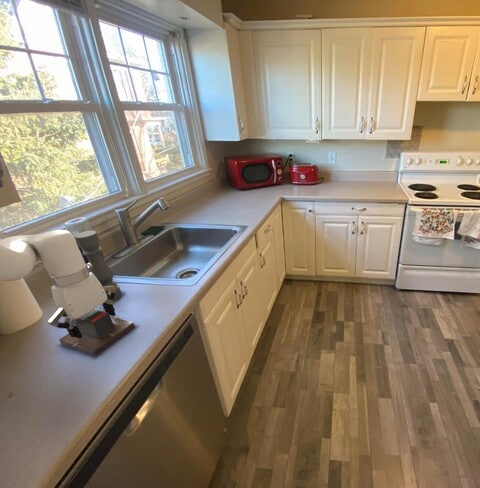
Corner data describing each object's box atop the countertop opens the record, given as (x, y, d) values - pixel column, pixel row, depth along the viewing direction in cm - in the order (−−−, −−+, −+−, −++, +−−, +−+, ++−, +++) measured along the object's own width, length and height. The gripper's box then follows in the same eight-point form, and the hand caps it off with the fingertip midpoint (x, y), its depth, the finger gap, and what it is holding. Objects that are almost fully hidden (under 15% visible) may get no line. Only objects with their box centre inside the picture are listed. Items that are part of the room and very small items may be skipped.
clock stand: (59, 346, 80) (55, 340, 79) (104, 316, 91) (102, 311, 90) (93, 358, 76) (90, 352, 75) (136, 326, 87) (134, 320, 86)
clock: (78, 332, 82) (70, 315, 79) (94, 322, 86) (86, 306, 83) (100, 339, 79) (92, 322, 77) (115, 328, 83) (108, 312, 81)
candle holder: (111, 291, 104) (85, 229, 93) (126, 293, 103) (101, 230, 92) (96, 302, 98) (67, 237, 87) (112, 303, 98) (85, 238, 87)
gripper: (94, 258, 83) (114, 305, 90) (22, 291, 68) (53, 343, 76) (112, 262, 81) (131, 309, 88) (42, 297, 66) (72, 350, 73)
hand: (95, 325), depth 82 cm, fingers open, 9 cm apart
